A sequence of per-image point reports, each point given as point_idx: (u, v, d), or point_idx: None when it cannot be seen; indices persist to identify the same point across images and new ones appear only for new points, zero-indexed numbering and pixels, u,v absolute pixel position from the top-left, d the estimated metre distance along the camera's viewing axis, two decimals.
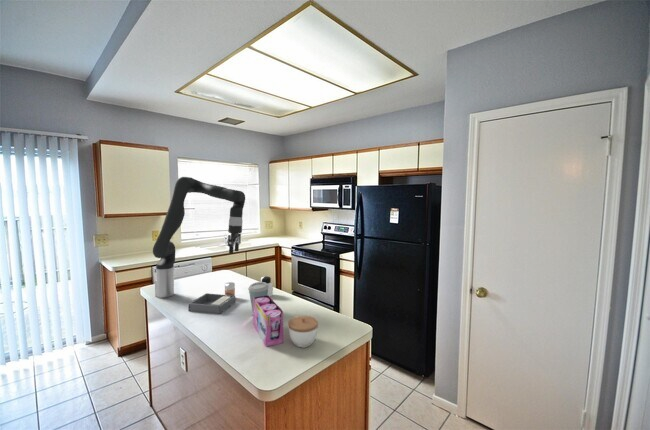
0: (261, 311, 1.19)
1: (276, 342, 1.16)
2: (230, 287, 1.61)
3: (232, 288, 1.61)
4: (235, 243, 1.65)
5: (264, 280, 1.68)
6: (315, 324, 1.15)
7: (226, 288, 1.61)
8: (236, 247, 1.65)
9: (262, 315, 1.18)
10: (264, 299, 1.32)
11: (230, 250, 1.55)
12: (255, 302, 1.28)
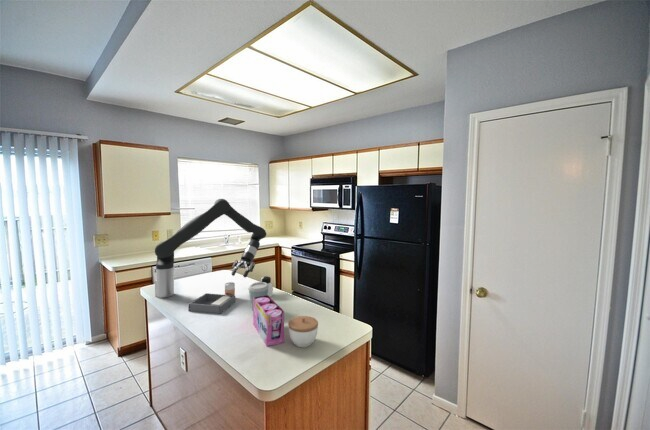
0: (262, 311, 1.19)
1: (277, 342, 1.16)
2: (230, 287, 1.61)
3: (232, 288, 1.61)
4: (235, 268, 1.74)
5: (264, 280, 1.68)
6: (315, 324, 1.15)
7: (226, 288, 1.61)
8: (234, 272, 1.73)
9: (263, 315, 1.18)
10: (264, 299, 1.32)
11: (246, 274, 1.70)
12: (255, 302, 1.29)
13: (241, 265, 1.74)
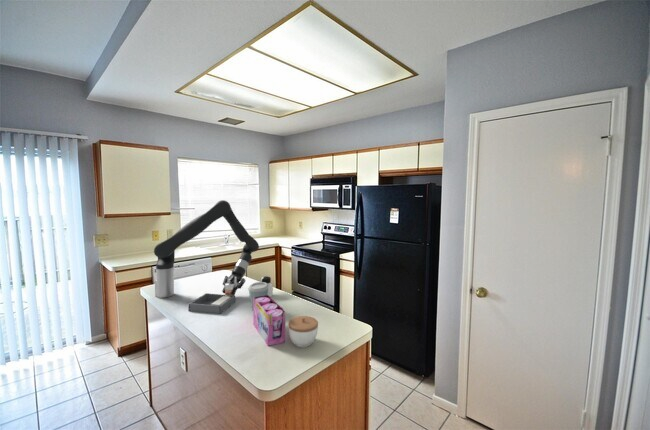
0: (263, 310, 1.20)
1: (278, 341, 1.16)
2: (230, 287, 1.60)
3: (232, 288, 1.61)
4: None
5: (264, 280, 1.68)
6: (315, 324, 1.15)
7: (226, 288, 1.61)
8: None
9: (264, 315, 1.18)
10: (265, 299, 1.32)
11: (235, 291, 1.61)
12: (256, 302, 1.29)
13: (232, 280, 1.66)
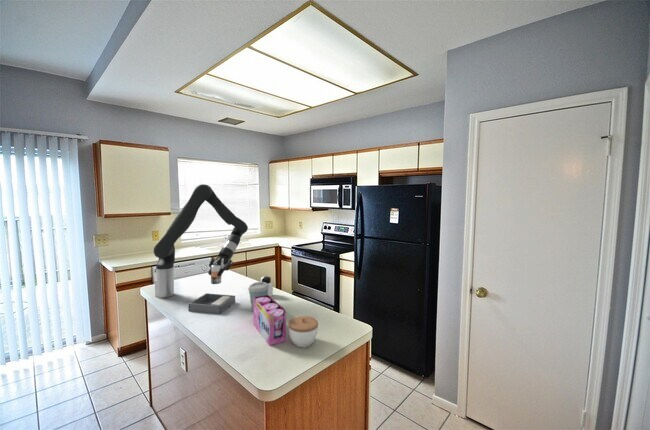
0: (263, 310, 1.20)
1: (279, 341, 1.17)
2: (216, 268, 1.53)
3: (219, 270, 1.53)
4: None
5: (264, 280, 1.68)
6: (315, 324, 1.15)
7: (212, 269, 1.53)
8: None
9: (265, 314, 1.18)
10: (265, 298, 1.32)
11: (221, 273, 1.53)
12: (256, 302, 1.29)
13: (219, 262, 1.58)
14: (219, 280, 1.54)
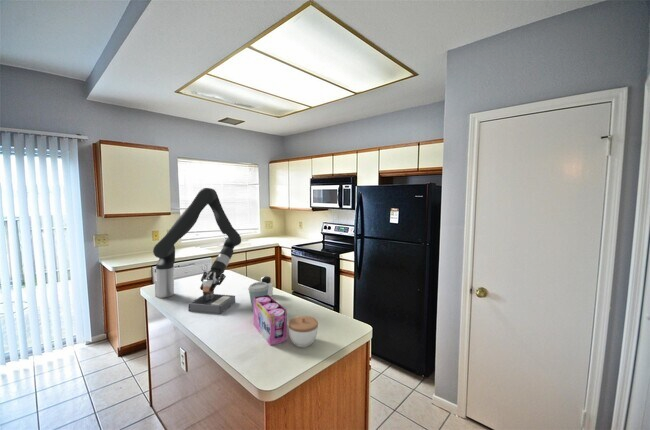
0: (264, 310, 1.20)
1: (280, 340, 1.17)
2: (208, 283, 1.48)
3: (210, 284, 1.49)
4: None
5: (264, 280, 1.68)
6: (315, 324, 1.15)
7: (204, 284, 1.48)
8: None
9: (265, 314, 1.19)
10: (265, 298, 1.32)
11: (213, 288, 1.49)
12: (256, 302, 1.29)
13: (211, 276, 1.53)
14: (211, 295, 1.50)
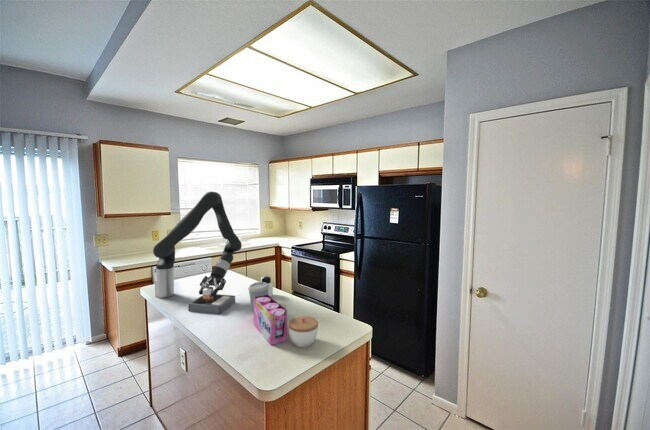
0: (264, 310, 1.20)
1: (280, 340, 1.17)
2: (208, 292, 1.49)
3: (210, 293, 1.50)
4: (204, 285, 1.54)
5: (264, 280, 1.68)
6: (315, 324, 1.15)
7: (204, 293, 1.49)
8: (202, 290, 1.53)
9: (266, 314, 1.19)
10: (265, 298, 1.32)
11: (215, 293, 1.49)
12: (256, 302, 1.29)
13: (210, 282, 1.54)
14: None
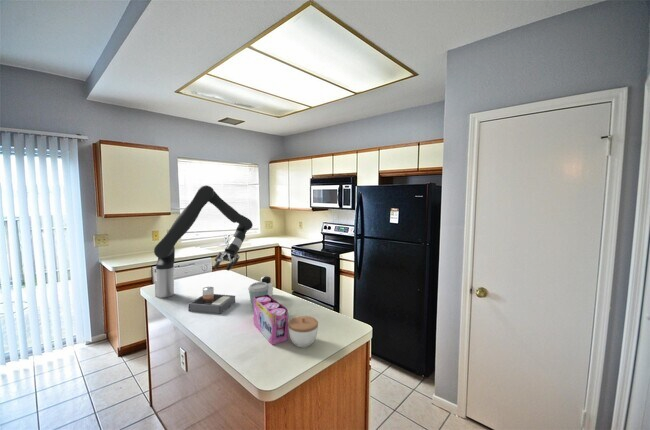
0: (265, 310, 1.20)
1: (281, 340, 1.18)
2: (208, 292, 1.49)
3: (210, 293, 1.50)
4: (219, 260, 1.64)
5: (264, 280, 1.68)
6: (315, 324, 1.15)
7: (204, 293, 1.49)
8: (217, 264, 1.63)
9: (267, 314, 1.19)
10: (265, 298, 1.33)
11: (230, 267, 1.60)
12: (256, 302, 1.29)
13: (224, 257, 1.64)
14: None
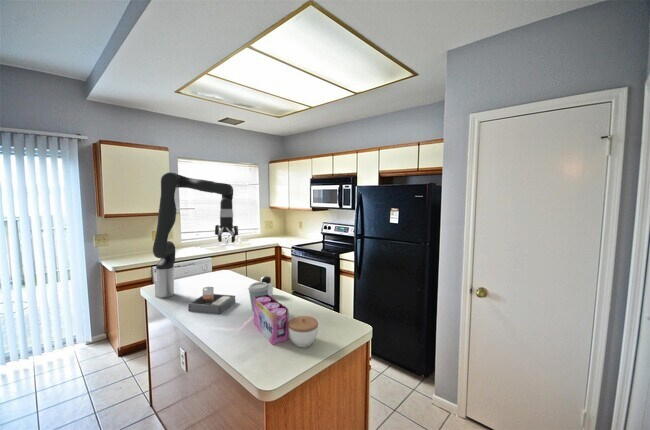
0: (266, 310, 1.21)
1: (282, 339, 1.18)
2: (208, 292, 1.49)
3: (210, 293, 1.50)
4: (220, 234, 1.71)
5: (264, 280, 1.68)
6: (315, 324, 1.15)
7: (204, 293, 1.49)
8: (220, 238, 1.72)
9: (267, 314, 1.19)
10: (265, 298, 1.33)
11: (234, 239, 1.70)
12: (257, 302, 1.29)
13: (224, 231, 1.70)
14: None
